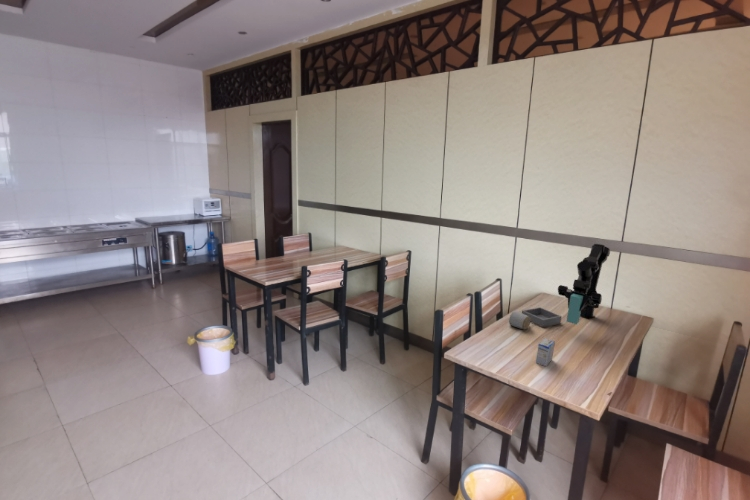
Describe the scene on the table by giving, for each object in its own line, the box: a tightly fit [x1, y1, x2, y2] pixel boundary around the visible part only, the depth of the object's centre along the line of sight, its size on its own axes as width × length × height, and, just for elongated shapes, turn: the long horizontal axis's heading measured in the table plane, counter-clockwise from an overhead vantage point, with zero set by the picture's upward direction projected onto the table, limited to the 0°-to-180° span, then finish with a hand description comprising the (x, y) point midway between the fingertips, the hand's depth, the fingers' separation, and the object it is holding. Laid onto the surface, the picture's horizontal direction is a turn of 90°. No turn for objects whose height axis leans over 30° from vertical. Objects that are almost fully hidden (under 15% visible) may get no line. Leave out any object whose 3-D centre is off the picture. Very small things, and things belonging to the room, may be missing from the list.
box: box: [521, 306, 563, 328], centre depth 206 cm, size 14×14×4 cm
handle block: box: [566, 294, 583, 325], centre depth 187 cm, size 4×4×13 cm
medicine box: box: [535, 337, 556, 367], centre depth 162 cm, size 8×4×9 cm, turn 141°
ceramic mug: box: [508, 310, 531, 331], centre depth 196 cm, size 11×8×8 cm
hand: (574, 309), depth 186 cm, fingers closed on handle block, 4 cm apart
